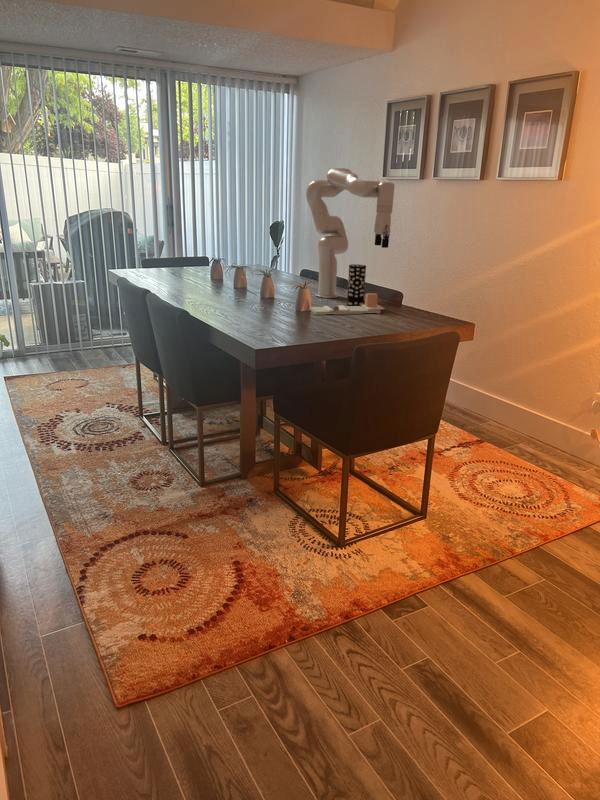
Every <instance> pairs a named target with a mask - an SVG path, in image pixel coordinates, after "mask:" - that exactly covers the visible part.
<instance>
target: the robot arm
mask: <svg viewBox="0 0 600 800" xmlns="http://www.w3.org/2000/svg"><path fill="white" fill-rule="evenodd" d="M326 179H327V180H326ZM326 179H316V180H313V181H311V182H310V183H309V184H308V186H307V188H306V201H307V203H308V207H309V208H310V211H311V215H312V218H313V223H314V226H315V229H316V232H317V233H318V234H319V235H323V236H322V237H321V238H320V239H318V240H319V241H318V242H317V250H318V257H319V259H318V261H319V264H318V288H317V290H318V291H317V292H316V293H314V294H315V295H314V296H315V297H317V296H318V297H317V298H321V297H322V298H323V299H336V298H338V297H339V293H337V292H336V290H337V273H338V261H337V257H336V256H335V255H338V254H339V255H340V254H345V253H346V252H347V251H348V248H349V240H348V237H347V233H346V229H345V225H344V223H343V221H342V219H341V218H340V217H339V216H337V215H330V213H329V210H328V207H327V204H326V202H325V201H324V200H323V199H322V198H335V197H336V196H338V195H339V194H341V193H342V192H344V191H348V192H349V193H350V194H352V195H354V196H358V197H360V198H365V199H366V198H374V199H377V200H376V209H375V210H376V212H375V213H376V215H375V221H374V229H373V232H374V233H375V235H374V245H375V246H381V248H382V249H383V248H384V249H385V248H387V249H388V248H389V241H390V235H391V226H392V225H391V224H392V222H391V221H392V214H393V206H394V197H395V196H394V195H395V183H394V182H391V181H388V182H387V181H378V180H363V179H361V178H359V176H358V175H357V174H356V173H354V172H353V171H351V170H350V169H349V168H344V167H343V168H342V167H333V168H331V169H329V171H327V173H326ZM324 235H326V236H324Z"/></svg>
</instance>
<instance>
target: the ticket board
mask: <svg viewBox="0 0 600 800" xmlns="http://www.w3.org/2000/svg"><path fill="white" fill-rule="evenodd" d="M310 309H311V311H312V312H311V311H310V312H311V313H312V314H314V315H315V314H316V315H315V316H325V315H326V314H335V315H363V314H362V313H377V314H381V312H382V311H381V310H382V309H379V310H368V309H366V308H365V307H363V306H347V305H344V304H342V305H341V304H340V305H337V304H336V303H334V302H332V301H326V305H323V306H310V307H309V310H310ZM326 316H327V315H326Z"/></svg>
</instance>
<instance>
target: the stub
mask: <svg viewBox="0 0 600 800" xmlns="http://www.w3.org/2000/svg"><path fill="white" fill-rule="evenodd" d="M378 297H379V296H378V293H375V292H373V293H372V292H369V293H366V292H365V295H364V304H361V306H363V307H365V308H366V309H368V310H385V307H383V306H381V305H380V304H378Z"/></svg>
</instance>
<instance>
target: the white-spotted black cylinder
mask: <svg viewBox="0 0 600 800" xmlns="http://www.w3.org/2000/svg"><path fill="white" fill-rule="evenodd" d="M348 266H349V267H348V278H347V279H348V281H347V297H346V306H361V304H365V288H366V273H367V272H366V270H367V265H365V264H349V265H348Z"/></svg>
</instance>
